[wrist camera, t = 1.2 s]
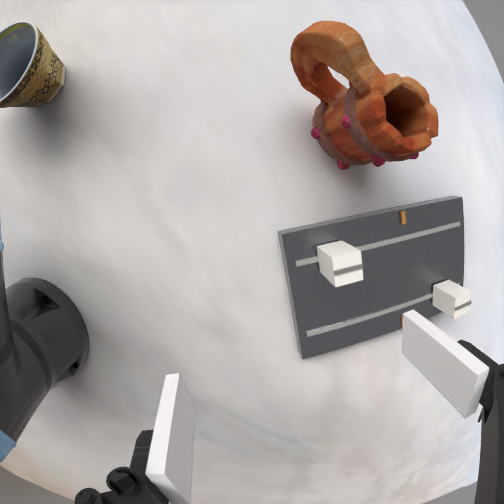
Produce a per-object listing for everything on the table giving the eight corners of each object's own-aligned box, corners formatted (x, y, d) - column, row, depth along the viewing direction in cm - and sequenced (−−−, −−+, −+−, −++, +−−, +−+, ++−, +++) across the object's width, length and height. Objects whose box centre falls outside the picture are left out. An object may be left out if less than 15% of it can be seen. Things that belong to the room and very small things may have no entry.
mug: (386, 142, 33) (470, 129, 18) (344, 185, 33) (420, 193, 19) (303, 52, 29) (351, -13, 15) (254, 92, 30) (278, 32, 16)
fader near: (320, 272, 33) (336, 287, 28) (316, 246, 32) (332, 258, 27) (344, 265, 33) (364, 280, 28) (341, 240, 32) (361, 251, 27)
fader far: (432, 305, 36) (454, 320, 31) (433, 285, 35) (456, 298, 30) (447, 298, 36) (470, 312, 31) (448, 279, 35) (472, 291, 30)
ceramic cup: (82, 40, 26) (46, 7, 16) (73, 110, 28) (29, 92, 18) (8, 66, 25) (-33, 48, 15) (0, 131, 27) (-48, 125, 17)
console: (298, 351, 38) (302, 360, 36) (277, 231, 34) (281, 234, 32) (454, 298, 39) (462, 304, 37) (453, 195, 35) (463, 197, 33)
